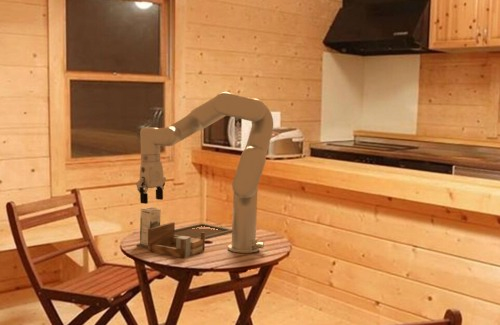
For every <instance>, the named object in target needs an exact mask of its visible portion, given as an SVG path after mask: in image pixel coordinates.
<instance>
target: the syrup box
mask: <svg viewBox="0 0 500 325" xmlns="http://www.w3.org/2000/svg"><path fill="white" fill-rule="evenodd" d="M139 221H140V222H139V223H140V225H139V226H140V227H139V244H143V245H147V246H148V229H150V228H153V227H157V226H160V225H161V209H160V208H158V207H154V206H150V207H145V208H141V209H140V220H139Z"/></svg>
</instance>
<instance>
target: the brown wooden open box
mask: <svg viewBox="0 0 500 325" xmlns="http://www.w3.org/2000/svg"><path fill="white" fill-rule="evenodd" d="M175 224H176V223H175V222H174V221H172V222H168V223H164V224H160V226H157V227H153V228H150V229H148V248H147V253H155V254H160V255H164V256H171V257H175V258H180V259H185V258H186V257H185V239H181V249H178V248H176V247H173V246H176V237H174V232H175V229H176V226H175ZM201 239H202V240H203V251H205V246H206V244H205V243H206V242H205V240H206V239H205V232H201ZM171 246H172V247H171Z"/></svg>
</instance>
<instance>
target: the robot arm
mask: <svg viewBox="0 0 500 325" xmlns="http://www.w3.org/2000/svg"><path fill="white" fill-rule="evenodd" d="M224 117H230V118H235V119H239V120H244V121H249V122H251V128H250V131H249V135H248V138H247V142H246V144H245V147H244V149H243V151H242V153H241V155H240V158H239V161H238V165H237V168H236V171H235V175H234V177H233V180H232V185H231V187H232V191H233V194H232V196H233V198H232V221H231V222H232V225H231V229H232V232H231V243H230V244H228V245H227V250H229V251H230V252H234V253H238V254H239V253H240V254H249V253H250V254H252V253H257V252H258V251H259V250H261V249H264V247H265V245H264V244H265V243H264V242H260V241H259V238H257V216H258V215H257V210H258V190H259V189H258V187H259V184H260V180H261V177H262V174H263V172H264V171H263V170H264V168H265V164H266V159H267V153H268V149H269V147H270V142H271V140H272V136H273V132H274V117H273V115H272V112H271V110H270V109H269V108H268V106H267V105H266V104H265V103H264V102H263V101H261V100H260V99H258V98H251V97H248V96H242V95H238V94H235V93H232V92H231V93H230V92H227V91H224V92H223V91H222V92H220V93H219V92H218V94H217V95H216V96H214V97H213V98H211V99H209V100H208V101H206V102H204V103H202V104H201V105H199V106H197V107H195V108H194V109H192V110H191V111H190V112H189V113H188V114H187V115H186V116H184V117H183V118H181V119H179V120H178V121H176V122H175V123H173V124H171V125H169V126H165V127H159V128H158V127H151V126H150V127H149V126H146V127H143V128H141V129H140V132H139V133H140V136H139V137H140V159H141V160H140V162H141V163H140V168H139V180H138V181H137V182H136V183H135V186H136V188H137V191H138V193H139V196H140V199H139V201H140V204H145V205H147V204H148V203H149V200H148V199H149V196H148V193H147V192H148V190H149V189H154V188H155V199H156V200H158V201H159V200H163V199H164V191H163V190H164V189H165V188H164V187H165V184H166V177H165V176H164V169H163V168H164V167H163V163H162V161H161V147H172V146H174V145H176V144H178V143H180V142H181V141H184V140H185V139H187V138H189V137H191V136H192V135H193V134H195V133H198V132H199V131H202V130H204V129H206V128H207V127H209V126H211V125H212V124H214V123H216V122H218V121H220V120H221V119H223V118H224Z"/></svg>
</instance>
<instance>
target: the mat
mask: <svg viewBox="0 0 500 325" xmlns="http://www.w3.org/2000/svg"><path fill="white" fill-rule="evenodd" d="M136 247H140V248H146V249H148V246H147V245H143V244H140V243H137V244H136Z"/></svg>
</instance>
